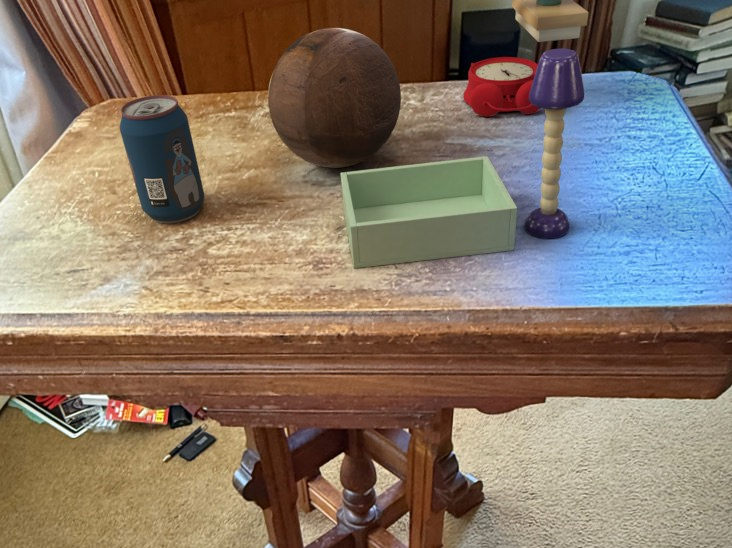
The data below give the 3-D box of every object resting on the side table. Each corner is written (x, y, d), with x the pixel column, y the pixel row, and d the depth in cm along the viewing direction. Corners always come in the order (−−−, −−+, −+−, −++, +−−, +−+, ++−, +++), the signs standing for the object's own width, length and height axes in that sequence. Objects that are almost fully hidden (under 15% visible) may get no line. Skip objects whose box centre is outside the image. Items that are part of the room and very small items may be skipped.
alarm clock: (535, 53, 99) (559, 63, 86) (533, 100, 102) (556, 117, 88) (459, 58, 100) (471, 69, 87) (459, 105, 103) (470, 122, 89)
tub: (485, 195, 76) (487, 155, 74) (514, 250, 68) (517, 207, 65) (343, 211, 76) (340, 172, 73) (353, 268, 67) (350, 226, 65)
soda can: (157, 196, 83) (130, 93, 76) (214, 196, 82) (192, 91, 74) (134, 226, 78) (103, 119, 70) (195, 227, 76) (169, 118, 69)
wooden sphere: (421, 143, 88) (420, 14, 79) (370, 199, 78) (361, 58, 69) (315, 129, 94) (301, 8, 85) (254, 180, 84) (231, 48, 75)
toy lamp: (519, 239, 69) (534, 63, 59) (517, 215, 73) (530, 45, 62) (571, 238, 68) (596, 60, 58) (566, 214, 72) (588, 42, 62)
